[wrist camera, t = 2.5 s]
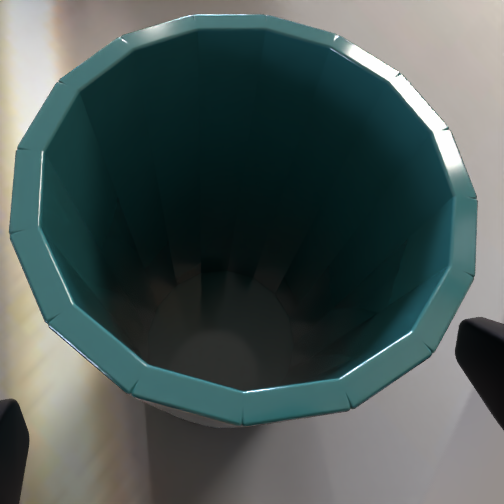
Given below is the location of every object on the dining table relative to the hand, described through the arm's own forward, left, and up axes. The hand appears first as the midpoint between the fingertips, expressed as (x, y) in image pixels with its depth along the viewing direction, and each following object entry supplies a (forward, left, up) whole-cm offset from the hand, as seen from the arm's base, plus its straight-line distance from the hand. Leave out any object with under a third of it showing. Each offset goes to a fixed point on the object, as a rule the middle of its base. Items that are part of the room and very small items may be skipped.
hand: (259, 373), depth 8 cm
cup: (+2, -1, -10) cm, 10 cm away
